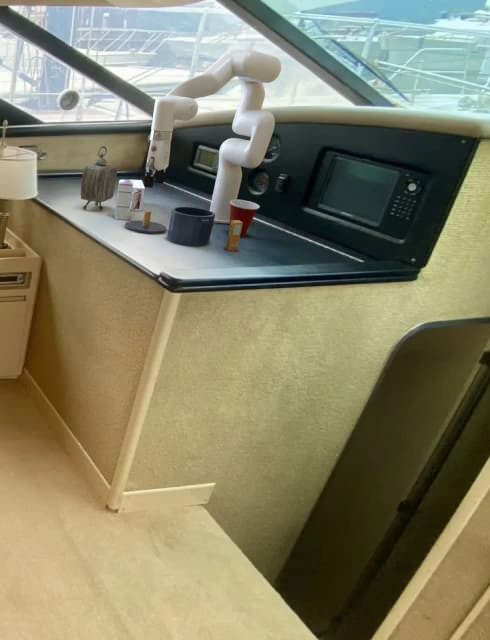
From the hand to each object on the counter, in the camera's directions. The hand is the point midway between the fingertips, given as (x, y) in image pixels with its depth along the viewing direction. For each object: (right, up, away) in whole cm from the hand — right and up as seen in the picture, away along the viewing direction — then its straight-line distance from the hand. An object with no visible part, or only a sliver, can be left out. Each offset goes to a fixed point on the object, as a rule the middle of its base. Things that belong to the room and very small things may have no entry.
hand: (153, 185), depth 222 cm
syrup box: (-8, -7, +21) cm, 23 cm away
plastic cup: (+33, -17, +7) cm, 38 cm away
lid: (-1, -14, +7) cm, 16 cm away
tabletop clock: (-16, 0, +33) cm, 37 cm away
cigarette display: (+1, +4, +41) cm, 41 cm away
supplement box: (+24, -27, -12) cm, 38 cm away
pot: (+11, -22, -5) cm, 25 cm away
